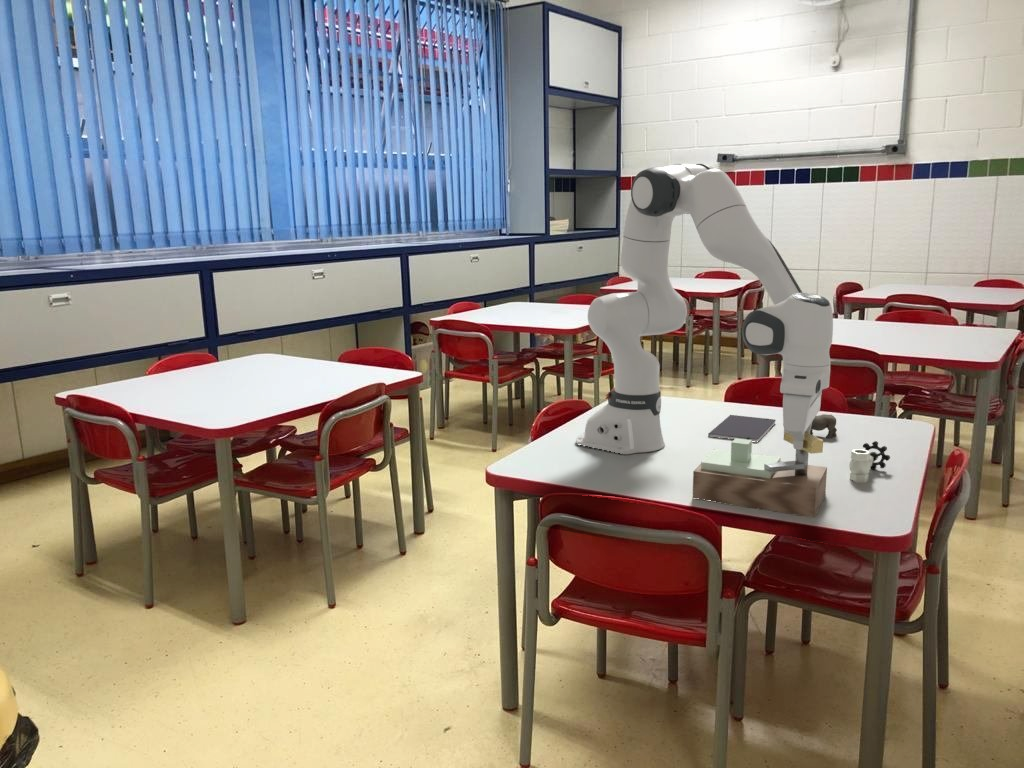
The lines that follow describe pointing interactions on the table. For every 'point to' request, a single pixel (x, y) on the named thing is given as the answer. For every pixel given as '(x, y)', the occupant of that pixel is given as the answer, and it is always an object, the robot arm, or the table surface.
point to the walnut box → (764, 489)
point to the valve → (866, 461)
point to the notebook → (742, 428)
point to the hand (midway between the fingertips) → (801, 444)
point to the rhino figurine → (824, 424)
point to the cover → (739, 460)
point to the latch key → (798, 455)
